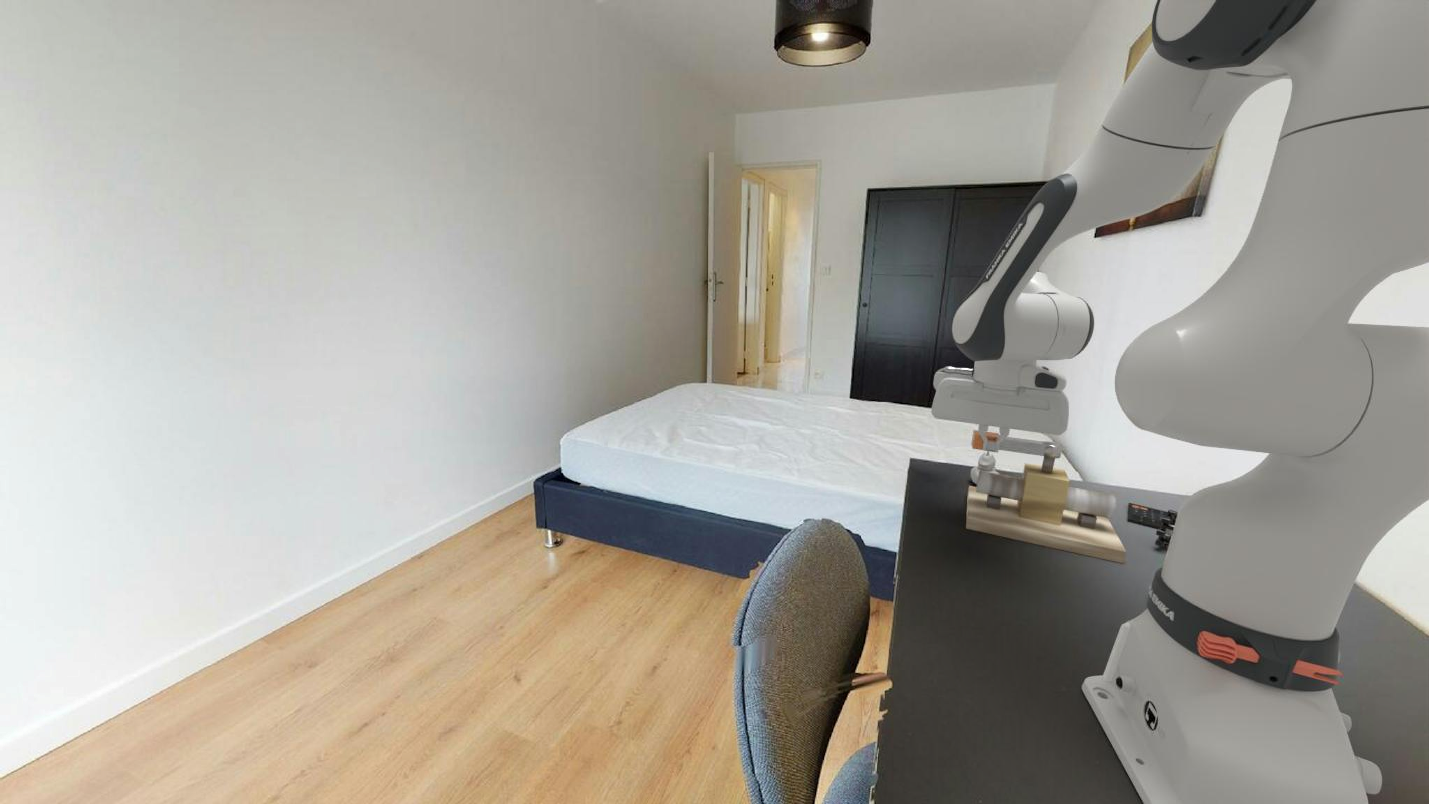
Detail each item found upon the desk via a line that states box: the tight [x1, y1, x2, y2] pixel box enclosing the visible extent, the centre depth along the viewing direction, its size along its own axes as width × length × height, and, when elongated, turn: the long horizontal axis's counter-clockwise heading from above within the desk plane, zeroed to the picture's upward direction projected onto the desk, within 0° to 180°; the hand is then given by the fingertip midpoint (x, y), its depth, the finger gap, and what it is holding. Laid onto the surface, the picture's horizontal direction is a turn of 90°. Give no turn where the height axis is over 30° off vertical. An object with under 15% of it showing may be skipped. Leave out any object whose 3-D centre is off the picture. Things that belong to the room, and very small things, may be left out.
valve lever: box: [970, 429, 1063, 459], centre depth 89 cm, size 14×3×3 cm, turn 68°
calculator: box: [1126, 502, 1176, 530], centre depth 93 cm, size 9×12×3 cm
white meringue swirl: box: [970, 451, 1000, 485], centre depth 107 cm, size 5×7×8 cm
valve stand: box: [965, 456, 1127, 564], centre depth 89 cm, size 16×22×13 cm
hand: (989, 450), depth 89 cm, fingers closed
